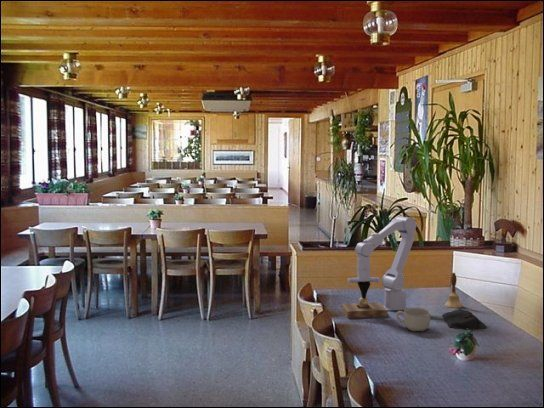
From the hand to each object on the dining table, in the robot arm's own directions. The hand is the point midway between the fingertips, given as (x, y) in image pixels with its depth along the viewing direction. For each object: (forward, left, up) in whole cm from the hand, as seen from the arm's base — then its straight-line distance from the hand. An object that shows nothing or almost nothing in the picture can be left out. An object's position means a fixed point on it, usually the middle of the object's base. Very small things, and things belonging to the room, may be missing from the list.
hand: (363, 297), depth 274 cm
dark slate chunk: (-39, +19, -8) cm, 44 cm away
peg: (0, 0, -7) cm, 7 cm away
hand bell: (-45, -7, -7) cm, 46 cm away
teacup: (-15, +27, -7) cm, 32 cm away
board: (0, 0, -7) cm, 7 cm away
